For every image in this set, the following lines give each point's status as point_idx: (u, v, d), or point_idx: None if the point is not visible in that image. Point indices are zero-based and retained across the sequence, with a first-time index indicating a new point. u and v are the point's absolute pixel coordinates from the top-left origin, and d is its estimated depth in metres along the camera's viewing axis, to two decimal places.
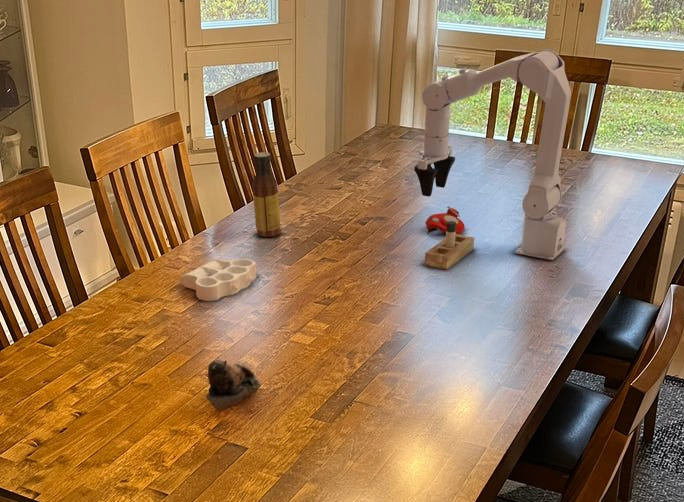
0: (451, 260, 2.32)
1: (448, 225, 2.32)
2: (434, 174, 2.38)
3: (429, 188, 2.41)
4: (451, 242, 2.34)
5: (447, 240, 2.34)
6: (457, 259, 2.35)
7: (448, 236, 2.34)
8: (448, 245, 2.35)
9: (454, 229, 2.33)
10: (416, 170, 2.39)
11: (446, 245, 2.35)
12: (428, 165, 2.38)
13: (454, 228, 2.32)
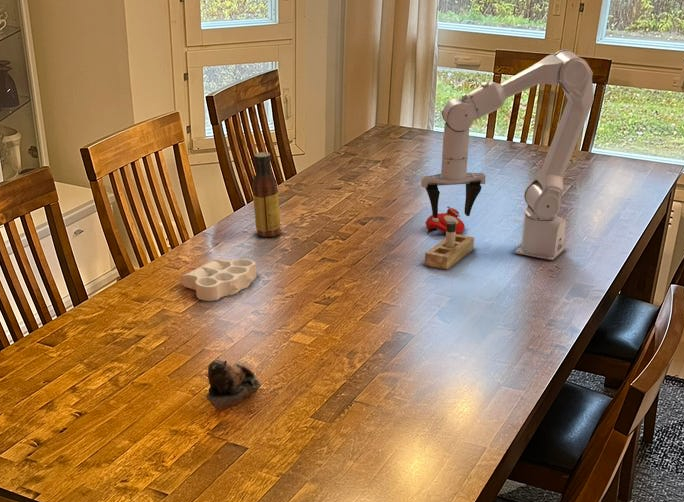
0: (451, 260, 2.32)
1: (448, 225, 2.32)
2: (434, 195, 2.27)
3: (434, 209, 2.30)
4: (451, 242, 2.34)
5: (447, 240, 2.34)
6: (457, 259, 2.35)
7: (448, 236, 2.34)
8: (448, 245, 2.35)
9: (454, 229, 2.33)
10: (425, 187, 2.30)
11: (446, 245, 2.35)
12: (432, 184, 2.27)
13: (454, 228, 2.32)
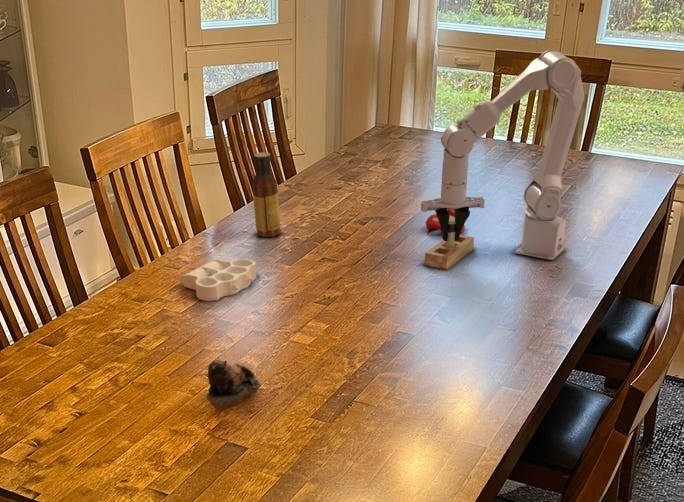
0: (451, 260, 2.32)
1: (448, 225, 2.32)
2: (444, 219, 2.29)
3: (443, 232, 2.33)
4: (451, 242, 2.34)
5: (447, 240, 2.34)
6: (457, 259, 2.35)
7: (448, 236, 2.34)
8: (448, 245, 2.35)
9: (454, 229, 2.33)
10: (435, 210, 2.32)
11: (446, 245, 2.35)
12: (442, 208, 2.30)
13: (454, 228, 2.32)
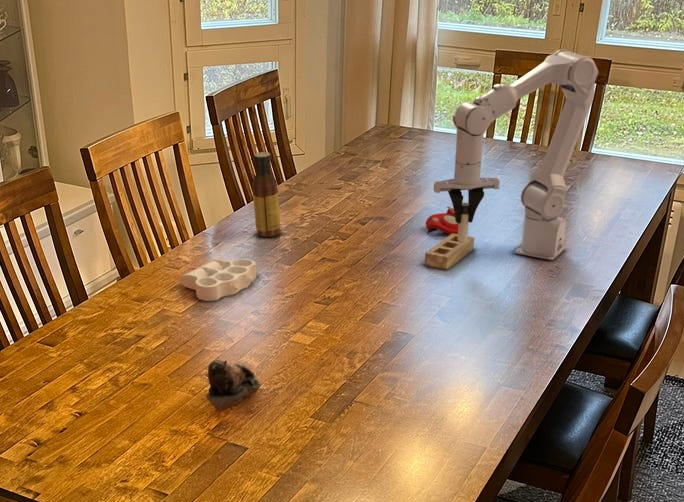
0: (451, 260, 2.32)
1: None
2: (457, 200, 2.22)
3: (457, 214, 2.25)
4: (464, 224, 2.27)
5: (460, 222, 2.27)
6: (457, 259, 2.35)
7: (461, 218, 2.26)
8: (461, 227, 2.27)
9: (468, 211, 2.25)
10: (448, 191, 2.25)
11: (459, 228, 2.28)
12: (456, 189, 2.22)
13: (468, 210, 2.25)
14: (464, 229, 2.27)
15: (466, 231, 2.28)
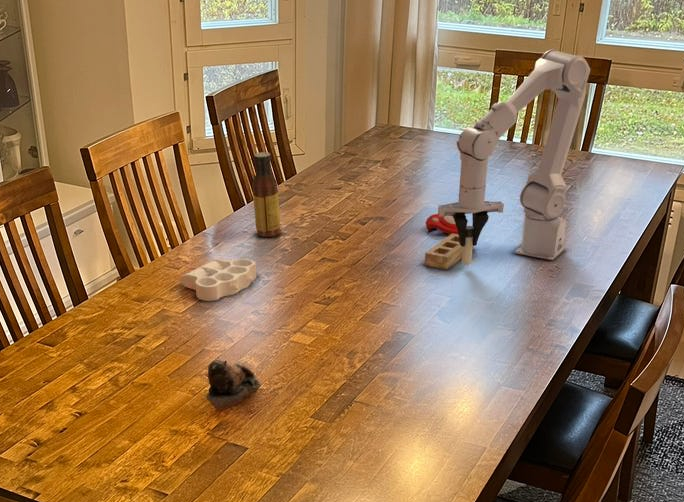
0: (451, 260, 2.32)
1: (466, 230, 2.25)
2: (462, 224, 2.23)
3: (461, 237, 2.26)
4: (469, 247, 2.27)
5: None
6: (457, 259, 2.35)
7: (465, 241, 2.27)
8: (465, 250, 2.28)
9: (472, 234, 2.26)
10: (452, 215, 2.26)
11: (463, 251, 2.28)
12: (460, 213, 2.23)
13: (472, 233, 2.26)
14: (468, 252, 2.28)
15: (470, 254, 2.29)
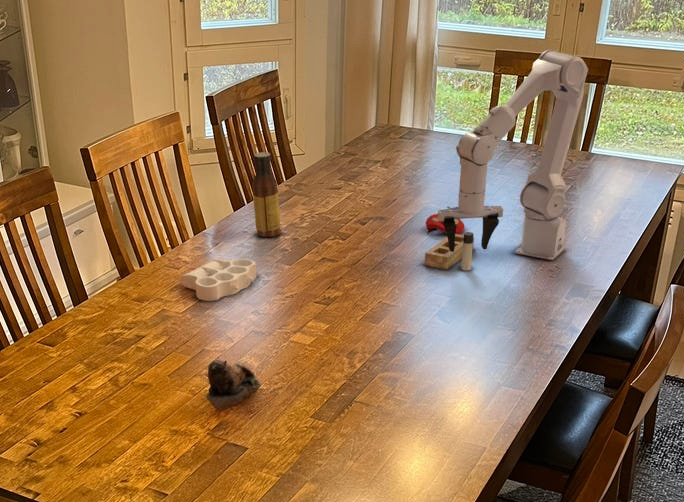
0: (451, 260, 2.32)
1: (465, 236, 2.26)
2: (451, 229, 2.23)
3: (450, 243, 2.26)
4: (468, 253, 2.28)
5: (464, 251, 2.28)
6: (457, 259, 2.35)
7: (465, 247, 2.28)
8: (465, 256, 2.29)
9: (471, 240, 2.27)
10: None
11: (463, 257, 2.29)
12: (449, 218, 2.23)
13: (471, 239, 2.26)
14: (468, 258, 2.29)
15: (470, 260, 2.29)
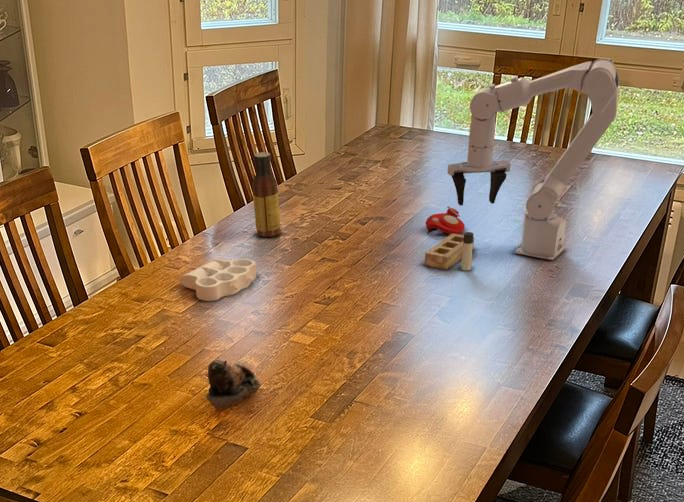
0: (451, 260, 2.32)
1: (465, 236, 2.26)
2: (460, 183, 2.31)
3: (459, 196, 2.35)
4: (468, 253, 2.28)
5: (464, 251, 2.28)
6: (457, 259, 2.35)
7: (465, 247, 2.28)
8: (465, 256, 2.29)
9: (471, 240, 2.27)
10: (451, 175, 2.34)
11: (463, 257, 2.29)
12: (459, 172, 2.32)
13: (471, 239, 2.26)
14: (468, 258, 2.29)
15: (470, 260, 2.29)
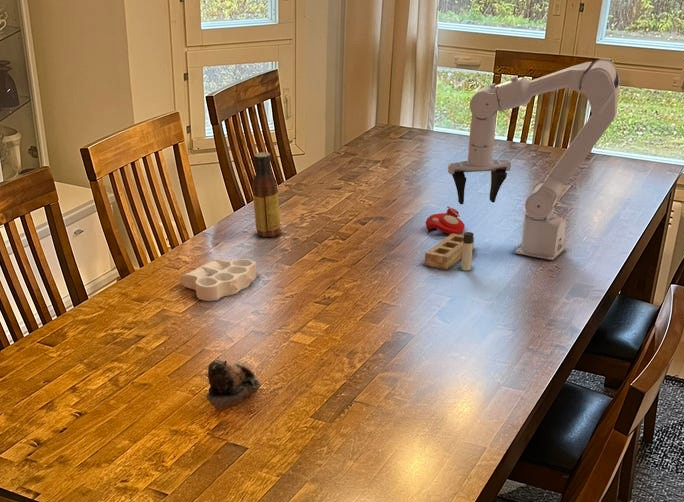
0: (451, 260, 2.32)
1: (465, 236, 2.26)
2: (461, 182, 2.32)
3: (460, 195, 2.35)
4: (468, 253, 2.28)
5: (464, 251, 2.28)
6: (457, 259, 2.35)
7: (465, 247, 2.28)
8: (465, 256, 2.29)
9: (471, 240, 2.27)
10: None
11: (463, 257, 2.29)
12: (459, 171, 2.32)
13: (471, 239, 2.26)
14: (468, 258, 2.29)
15: (470, 260, 2.29)
